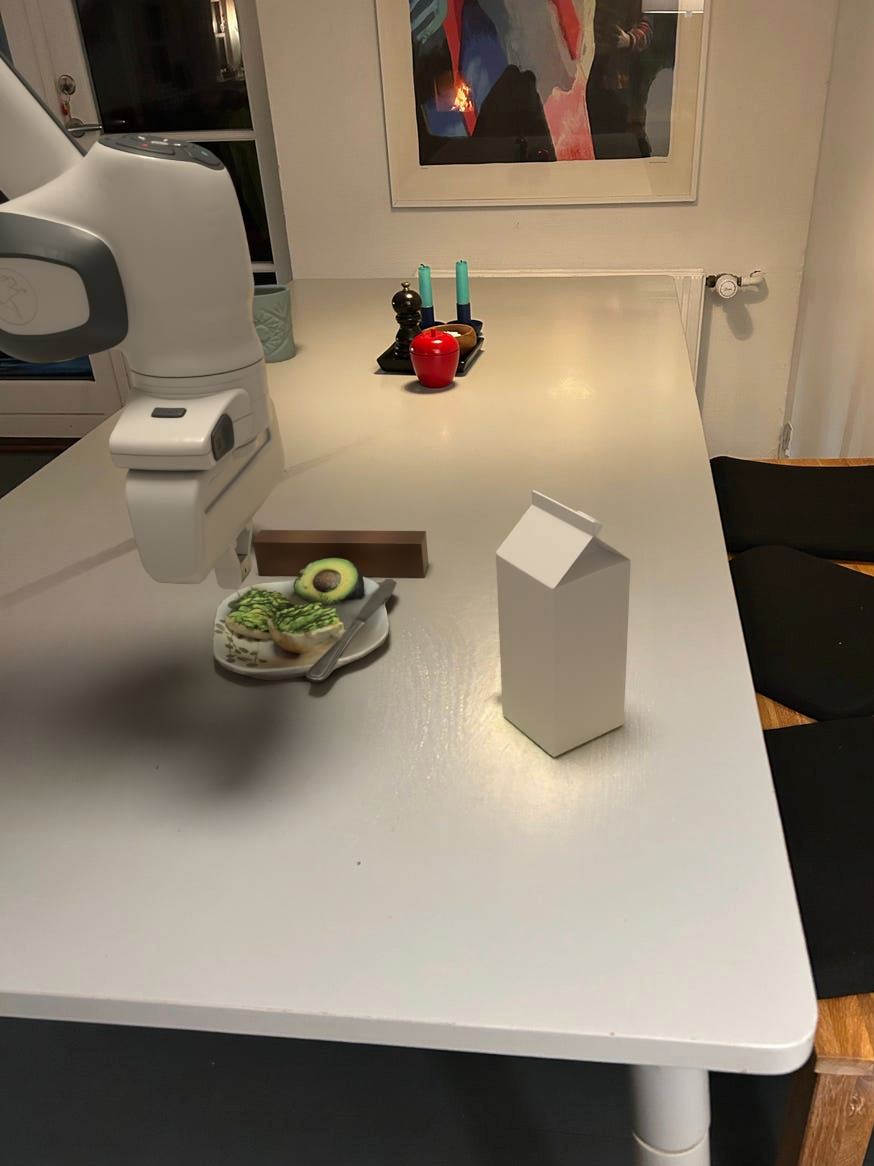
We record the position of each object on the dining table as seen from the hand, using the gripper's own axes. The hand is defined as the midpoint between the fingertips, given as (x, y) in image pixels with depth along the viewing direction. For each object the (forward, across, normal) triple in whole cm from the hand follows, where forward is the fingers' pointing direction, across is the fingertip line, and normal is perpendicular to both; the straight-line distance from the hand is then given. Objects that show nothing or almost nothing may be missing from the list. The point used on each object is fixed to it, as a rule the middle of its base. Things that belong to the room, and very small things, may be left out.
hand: (236, 580), depth 72 cm
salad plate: (+13, -14, 0) cm, 20 cm away
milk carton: (+13, -1, +25) cm, 28 cm away
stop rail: (+13, -27, +1) cm, 30 cm away
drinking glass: (+13, -112, -34) cm, 118 cm away
